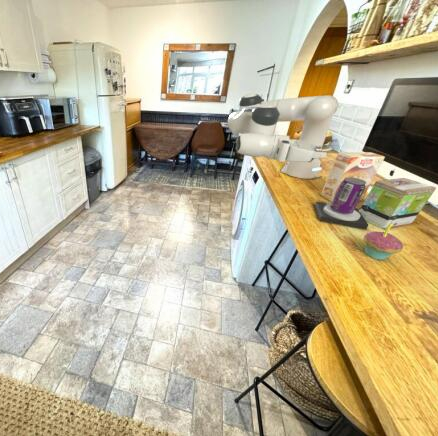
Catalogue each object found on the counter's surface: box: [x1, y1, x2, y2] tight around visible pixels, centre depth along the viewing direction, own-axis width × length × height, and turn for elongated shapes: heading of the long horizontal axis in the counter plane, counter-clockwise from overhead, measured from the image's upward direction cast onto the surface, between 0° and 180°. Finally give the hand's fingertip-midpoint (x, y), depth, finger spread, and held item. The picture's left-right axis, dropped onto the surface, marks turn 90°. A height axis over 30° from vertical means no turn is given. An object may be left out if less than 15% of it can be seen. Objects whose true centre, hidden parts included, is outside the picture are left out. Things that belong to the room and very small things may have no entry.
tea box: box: [358, 177, 437, 229], centre depth 86 cm, size 15×10×15 cm, turn 107°
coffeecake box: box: [320, 151, 386, 203], centre depth 101 cm, size 15×7×20 cm, turn 95°
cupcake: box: [363, 221, 404, 261], centre depth 68 cm, size 9×8×12 cm
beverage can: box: [330, 177, 366, 214], centre depth 86 cm, size 7×7×12 cm
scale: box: [313, 201, 369, 231], centre depth 90 cm, size 14×14×3 cm
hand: (323, 151), depth 85 cm, fingers open, 8 cm apart
